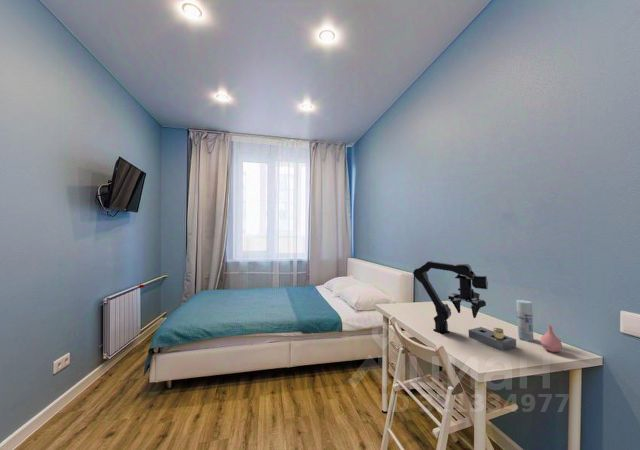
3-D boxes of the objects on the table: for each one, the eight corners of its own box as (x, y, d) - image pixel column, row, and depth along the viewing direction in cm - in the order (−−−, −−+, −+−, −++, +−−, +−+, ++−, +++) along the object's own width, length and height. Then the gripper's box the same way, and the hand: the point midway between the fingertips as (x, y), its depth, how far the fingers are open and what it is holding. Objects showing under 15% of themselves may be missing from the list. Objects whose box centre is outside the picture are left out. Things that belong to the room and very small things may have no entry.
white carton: (524, 335, 137) (522, 299, 137) (537, 340, 130) (535, 302, 131) (515, 337, 135) (513, 300, 136) (527, 342, 129) (525, 303, 129)
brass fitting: (500, 347, 124) (499, 331, 124) (492, 344, 127) (491, 328, 128) (505, 346, 125) (505, 330, 125) (497, 342, 129) (496, 327, 129)
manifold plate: (503, 351, 120) (502, 342, 120) (468, 337, 136) (468, 329, 137) (516, 347, 123) (515, 339, 124) (481, 334, 140) (481, 326, 140)
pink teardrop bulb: (549, 346, 123) (548, 322, 124) (567, 354, 116) (565, 328, 116) (536, 348, 122) (535, 323, 123) (553, 355, 115) (551, 329, 115)
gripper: (492, 288, 131) (493, 318, 131) (460, 282, 149) (461, 308, 148) (477, 291, 127) (479, 321, 127) (447, 284, 145) (448, 311, 144)
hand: (466, 315), depth 137 cm, fingers open, 9 cm apart
